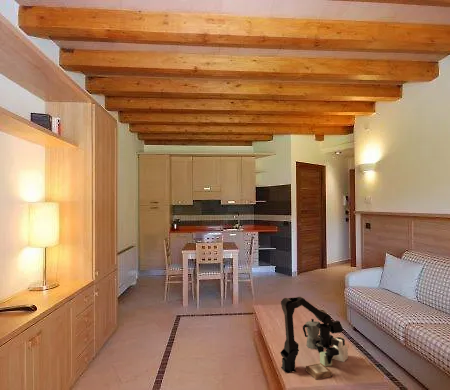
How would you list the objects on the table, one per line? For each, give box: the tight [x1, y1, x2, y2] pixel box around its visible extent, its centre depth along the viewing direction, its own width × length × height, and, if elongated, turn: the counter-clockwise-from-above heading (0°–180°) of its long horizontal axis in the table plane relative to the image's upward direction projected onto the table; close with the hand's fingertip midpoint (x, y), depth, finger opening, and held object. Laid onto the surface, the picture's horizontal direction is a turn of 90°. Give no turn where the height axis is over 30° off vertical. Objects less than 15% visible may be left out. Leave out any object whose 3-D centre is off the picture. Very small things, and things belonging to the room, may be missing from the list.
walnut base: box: [305, 362, 333, 380], centre depth 175 cm, size 10×10×3 cm
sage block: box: [319, 350, 333, 367], centre depth 186 cm, size 5×5×6 cm
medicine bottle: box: [332, 336, 349, 363], centre depth 192 cm, size 7×7×12 cm
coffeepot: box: [302, 318, 321, 350], centre depth 210 cm, size 15×9×18 cm, turn 119°
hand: (325, 361), depth 186 cm, fingers open, 7 cm apart
